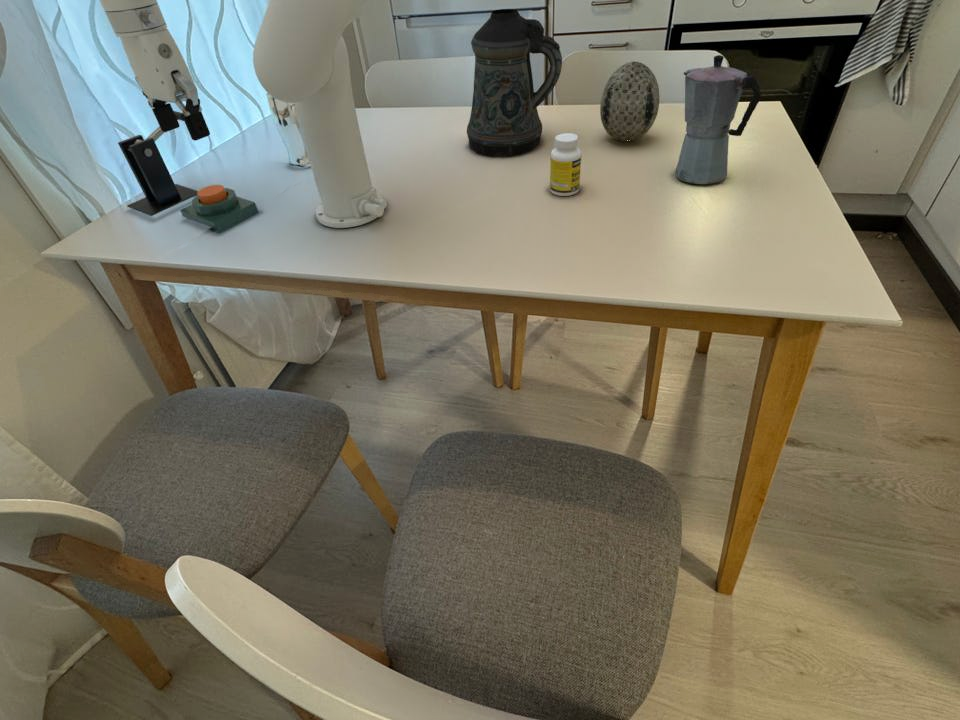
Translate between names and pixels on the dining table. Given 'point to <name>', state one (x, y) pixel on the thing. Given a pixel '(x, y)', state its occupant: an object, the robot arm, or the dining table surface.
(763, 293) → the dining table surface
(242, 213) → the block
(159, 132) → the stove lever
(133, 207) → the lever bracket
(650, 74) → the decorative egg
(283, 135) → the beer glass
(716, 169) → the moka pot
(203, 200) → the button
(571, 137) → the supplement bottle
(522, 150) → the beer stein
